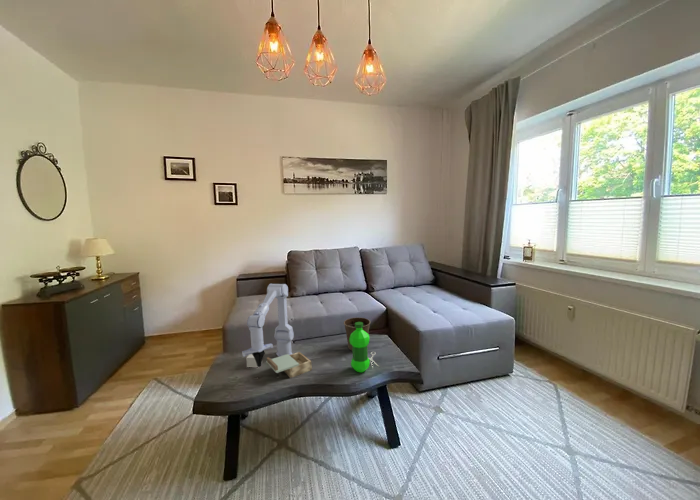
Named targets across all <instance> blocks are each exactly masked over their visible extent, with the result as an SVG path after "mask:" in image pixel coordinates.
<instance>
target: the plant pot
mask: <svg viewBox="0 0 700 500" xmlns="http://www.w3.org/2000/svg"><path fill="white" fill-rule="evenodd" d="M356 322H362V323H363V327H362V330H364V331H365V332H366V333H368V334H369V332H370V331H369V330H370V325H371V320H370V319H369V318H366V317H357V316H356V317H350V318H347V319H345V320H344V321H343V326H344V329H345V333H346V334H345V335H346V342H347V348H348V350H350V351H352V345H351V344H350V341H349V338H350V335H351V333H353V332H354V331H355V330H356V327H355V323H356ZM368 347H369V344H368V345H367V349H368Z"/></svg>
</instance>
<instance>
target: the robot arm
mask: <svg viewBox="0 0 700 500" xmlns="http://www.w3.org/2000/svg"><path fill="white" fill-rule="evenodd" d="M288 297H289V287H288V285H287V284H286V283H269V284H268V285H267V288H266V295H265V297H264V299H263V301H262V302H261V303H259V304H258V305H257V307H256V309H255V311H254V312H253V314H251V315H249V316H248V318H247V321H246V326H247V327H248V331H249V332H250V334H249V335H250V343H251V344H250V345H251V347H250V348H248V349H245V350H242V351H241V355H242V357H245V358H246V357H247V356H248V355H249V354H252V355H253V356H254V358H255V360H256V363H257V366H258V368H260V367H262V364H263V359H264V356H265V355H266V354H265V353H266V351H265V350H269V349H273V348H274V344H273V343H271V342H270V343H265V342H264V331H263V326H264V325H265V323H266V321H265V320H266V316H267V315H268V312H269V311H270V305H271V304H272V303H273V300H275V299H277V314H278V315H277V316H278V317H277V318H278V325H277V326H276V327H275V329H274V339H275V340H276V352H275V355H276V357H280V356H283V355H286V354H288V355H291V354H294V353H293V351H292V340H293V339H294V335H295V334H294V333H295V332H294V329H293V326H292V325H290V324H289V323H288V322H289V321H288V302H287V298H288ZM264 343H265V344H264ZM261 363H262V364H261Z"/></svg>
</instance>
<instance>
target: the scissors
mask: <svg viewBox="0 0 700 500" xmlns="http://www.w3.org/2000/svg"><path fill="white" fill-rule="evenodd" d="M376 353H377V352H376V351H371V352H370V355H372V356H371V357H368V358H369V360H370V364H371V365H370V366H371V368H372V369H374V365H376V366H377V367H379V365H378V364H377V362H375V360H374V359H373V358H374V356H375V355H376ZM371 361H372V362H371ZM373 362H374V363H373ZM372 363H373V364H372ZM372 365H373V366H372Z"/></svg>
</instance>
